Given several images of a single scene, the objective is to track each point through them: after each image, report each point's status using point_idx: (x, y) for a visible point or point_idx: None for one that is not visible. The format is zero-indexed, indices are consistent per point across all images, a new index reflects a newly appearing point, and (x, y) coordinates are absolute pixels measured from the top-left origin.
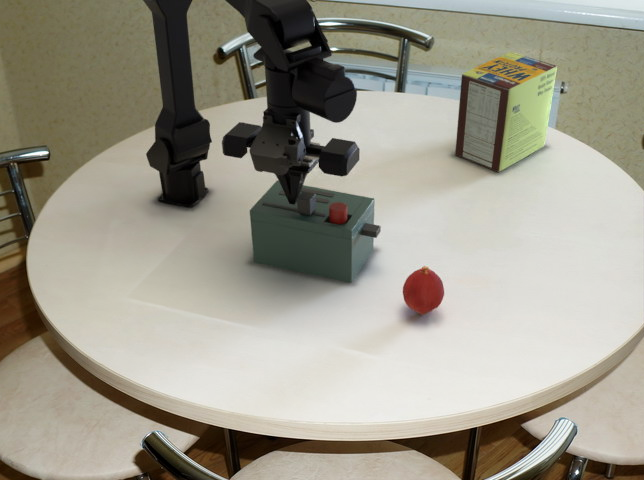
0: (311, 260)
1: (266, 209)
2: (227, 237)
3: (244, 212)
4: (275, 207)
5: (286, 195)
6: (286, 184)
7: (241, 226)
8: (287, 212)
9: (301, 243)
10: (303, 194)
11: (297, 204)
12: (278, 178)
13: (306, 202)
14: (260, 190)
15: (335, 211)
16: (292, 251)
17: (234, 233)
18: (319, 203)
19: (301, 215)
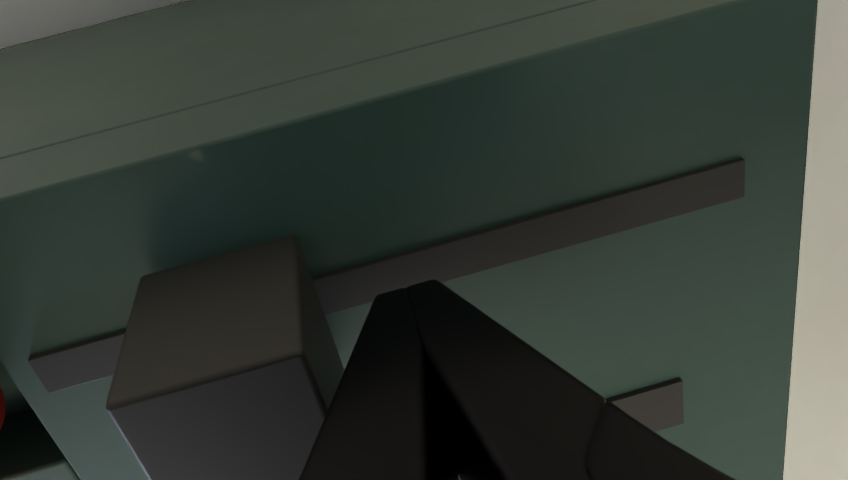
0: (138, 40)
1: (654, 110)
2: (839, 42)
3: (843, 276)
4: (587, 194)
5: (482, 325)
6: (501, 449)
7: (809, 174)
8: (420, 194)
9: (203, 57)
10: (296, 459)
11: (294, 296)
12: (695, 475)
13: (161, 369)
14: (842, 436)
15: None
16: (291, 10)
17: (818, 99)
18: None
19: (249, 235)
